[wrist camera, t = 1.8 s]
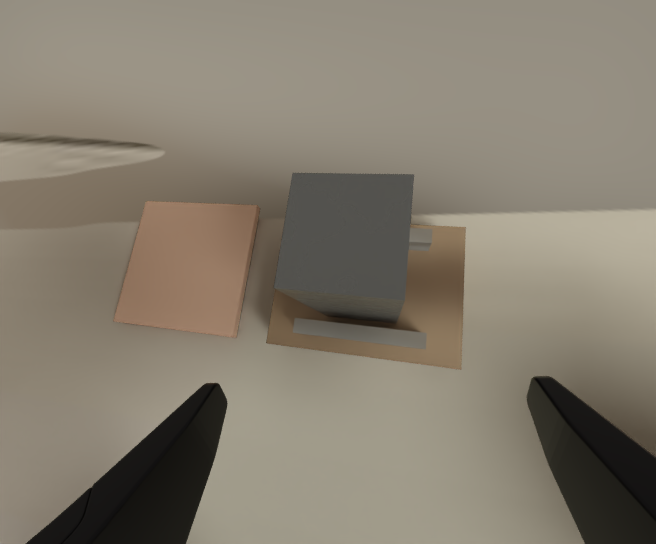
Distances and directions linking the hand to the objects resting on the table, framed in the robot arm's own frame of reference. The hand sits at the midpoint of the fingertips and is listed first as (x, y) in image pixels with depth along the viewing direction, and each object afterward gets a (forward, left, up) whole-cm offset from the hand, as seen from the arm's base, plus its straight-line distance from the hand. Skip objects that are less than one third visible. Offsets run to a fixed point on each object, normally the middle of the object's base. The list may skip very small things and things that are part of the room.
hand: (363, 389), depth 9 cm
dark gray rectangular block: (+5, +1, -8) cm, 10 cm away
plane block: (+5, +1, -11) cm, 12 cm away
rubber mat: (+6, +15, -11) cm, 20 cm away
